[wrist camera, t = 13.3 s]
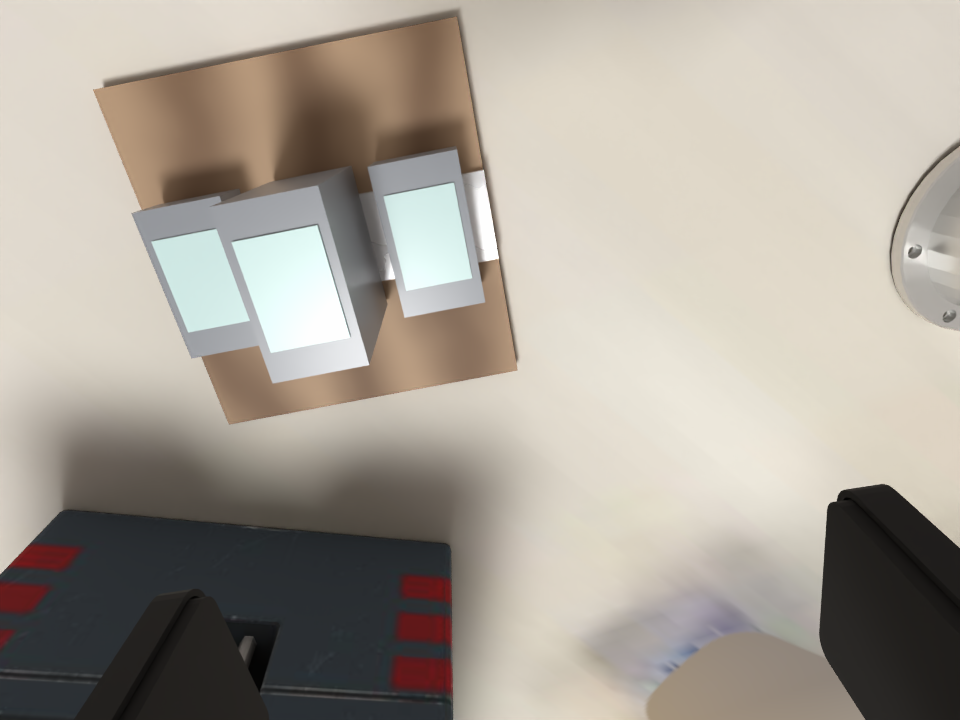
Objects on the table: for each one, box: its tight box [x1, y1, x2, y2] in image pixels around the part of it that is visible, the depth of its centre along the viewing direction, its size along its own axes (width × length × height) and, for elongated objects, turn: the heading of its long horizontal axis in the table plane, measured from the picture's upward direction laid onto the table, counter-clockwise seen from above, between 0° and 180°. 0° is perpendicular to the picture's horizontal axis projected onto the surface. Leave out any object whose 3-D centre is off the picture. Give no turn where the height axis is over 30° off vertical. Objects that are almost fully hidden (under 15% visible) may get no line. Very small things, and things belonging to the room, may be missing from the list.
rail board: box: [93, 17, 517, 424], centre depth 33 cm, size 19×20×5 cm
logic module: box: [209, 166, 388, 383], centre depth 29 cm, size 4×8×9 cm, turn 10°
